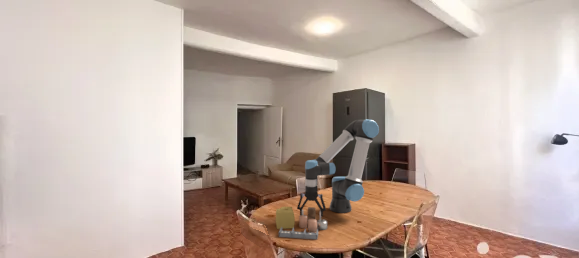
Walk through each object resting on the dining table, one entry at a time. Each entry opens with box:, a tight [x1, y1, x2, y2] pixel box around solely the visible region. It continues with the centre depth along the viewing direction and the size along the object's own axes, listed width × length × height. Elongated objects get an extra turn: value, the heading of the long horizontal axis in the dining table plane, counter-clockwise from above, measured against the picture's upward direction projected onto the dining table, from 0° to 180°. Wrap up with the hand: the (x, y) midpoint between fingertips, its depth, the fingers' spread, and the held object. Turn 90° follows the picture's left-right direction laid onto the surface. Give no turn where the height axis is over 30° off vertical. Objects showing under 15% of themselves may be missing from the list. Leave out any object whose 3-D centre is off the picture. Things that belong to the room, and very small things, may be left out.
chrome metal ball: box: [316, 218, 328, 231], centre depth 154 cm, size 6×6×4 cm
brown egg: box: [298, 214, 308, 229], centre depth 156 cm, size 5×5×6 cm
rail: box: [278, 227, 319, 240], centre depth 144 cm, size 21×8×3 cm, turn 80°
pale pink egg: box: [307, 218, 317, 233], centre depth 149 cm, size 5×5×6 cm
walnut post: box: [307, 206, 316, 220], centre depth 164 cm, size 4×4×8 cm
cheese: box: [275, 206, 296, 230], centre depth 157 cm, size 10×11×10 cm
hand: (311, 220), depth 164 cm, fingers open, 10 cm apart
